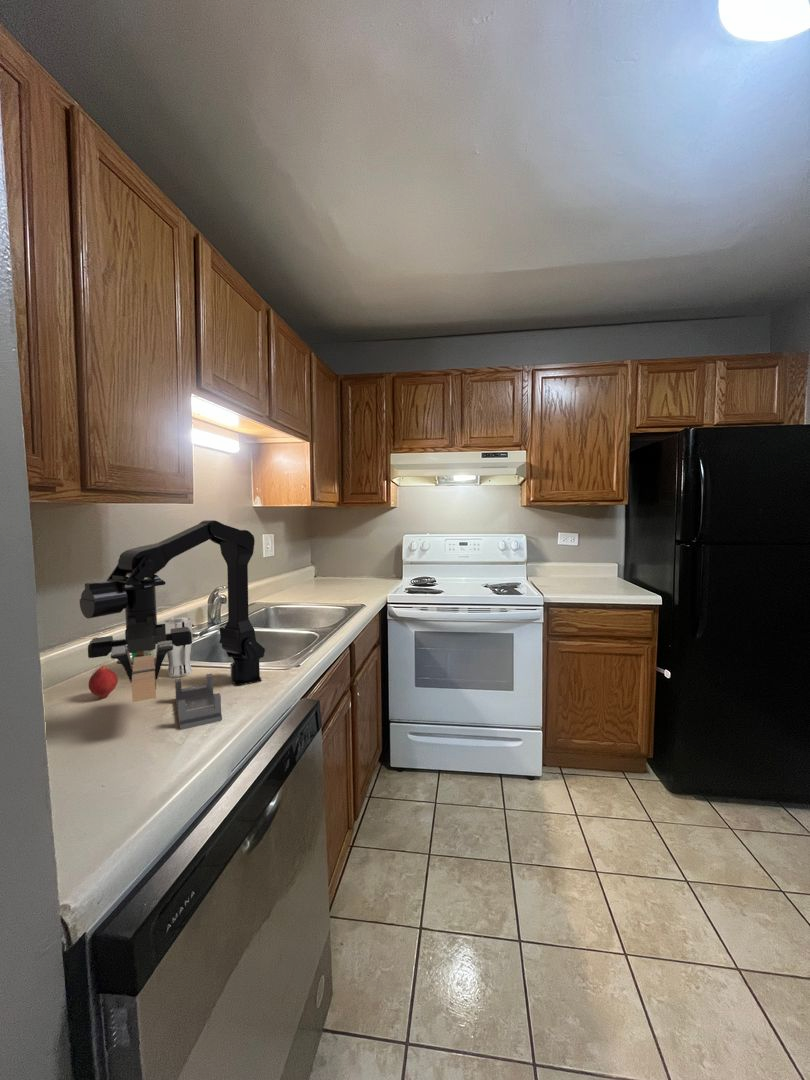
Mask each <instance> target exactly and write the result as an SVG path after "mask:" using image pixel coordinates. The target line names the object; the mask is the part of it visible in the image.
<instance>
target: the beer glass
mask: <svg viewBox="0 0 810 1080" xmlns="http://www.w3.org/2000/svg"><path fill="white" fill-rule="evenodd" d="M191 620H192V619H191V617H184V616H183V617H173V618H168V619H165V620H164V622H163V624H165V629H166V634H168V633H171V629H174V628H182V627H188V628H189V629H190V631H191V634H192V635H193V629H192V628H193V626H192V621H191ZM192 644H193V643H192ZM192 644H189V645H182V646H175V645H174V644H172V645H173V650H171V651H168V652H167V653H166V655H167V660H168V669H167V676H168V677H169V678H181V677H180V676H182V677H185V676H184V675H186V676H188V675H190V674H192V672H193V670H192V665H191V658H190V657H191V650H192ZM187 674H188V675H187Z"/></svg>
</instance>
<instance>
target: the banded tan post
mask: <svg viewBox="0 0 810 1080" xmlns="http://www.w3.org/2000/svg"><path fill="white" fill-rule="evenodd" d="M132 670H133V672H132V684H131V695H132V696H131V697H132V698H131V700H132V703H136V702H142V701H146V700H153V699H156V698H157V695H156V694H157V693H156V692H157V691H156V690H157V683H156V682H157V681H156V677H155V667H154V655H149V656H142V657H135V658H134V662H133V661H132Z"/></svg>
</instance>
